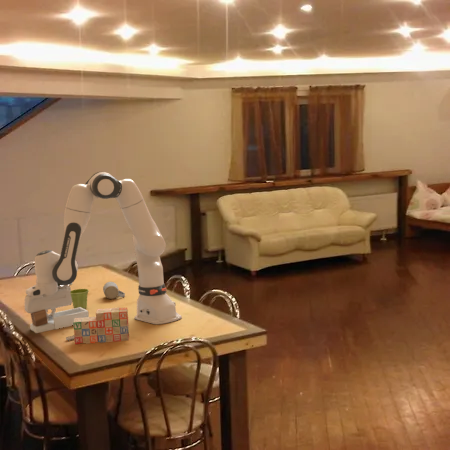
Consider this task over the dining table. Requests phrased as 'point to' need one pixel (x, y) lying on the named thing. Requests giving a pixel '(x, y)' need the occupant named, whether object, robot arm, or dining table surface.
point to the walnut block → (39, 318)
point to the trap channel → (61, 320)
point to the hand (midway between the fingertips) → (50, 318)
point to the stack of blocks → (102, 326)
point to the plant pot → (79, 298)
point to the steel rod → (70, 338)
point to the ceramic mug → (112, 290)
